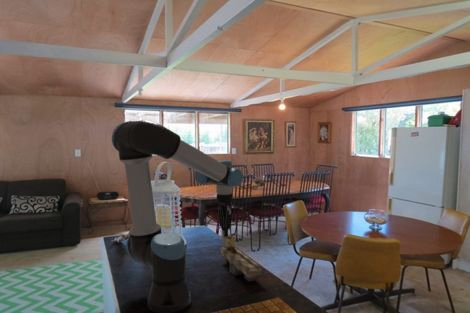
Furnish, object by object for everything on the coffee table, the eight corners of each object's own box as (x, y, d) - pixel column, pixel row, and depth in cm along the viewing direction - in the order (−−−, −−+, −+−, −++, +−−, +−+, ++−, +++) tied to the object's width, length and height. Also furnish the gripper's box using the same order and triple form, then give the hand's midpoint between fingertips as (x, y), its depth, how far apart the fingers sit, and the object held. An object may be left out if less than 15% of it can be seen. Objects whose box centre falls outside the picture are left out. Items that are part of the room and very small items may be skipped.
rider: (236, 251, 147) (236, 236, 146) (228, 253, 145) (228, 237, 145) (232, 249, 150) (232, 233, 150) (224, 250, 149) (224, 235, 148)
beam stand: (262, 283, 129) (262, 265, 128) (246, 287, 126) (246, 269, 125) (233, 259, 154) (233, 244, 154) (219, 262, 151) (219, 247, 151)
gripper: (237, 194, 148) (238, 245, 149) (226, 190, 159) (226, 237, 161) (222, 196, 144) (223, 248, 146) (212, 191, 156) (212, 240, 158)
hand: (225, 242), depth 153 cm, fingers closed
